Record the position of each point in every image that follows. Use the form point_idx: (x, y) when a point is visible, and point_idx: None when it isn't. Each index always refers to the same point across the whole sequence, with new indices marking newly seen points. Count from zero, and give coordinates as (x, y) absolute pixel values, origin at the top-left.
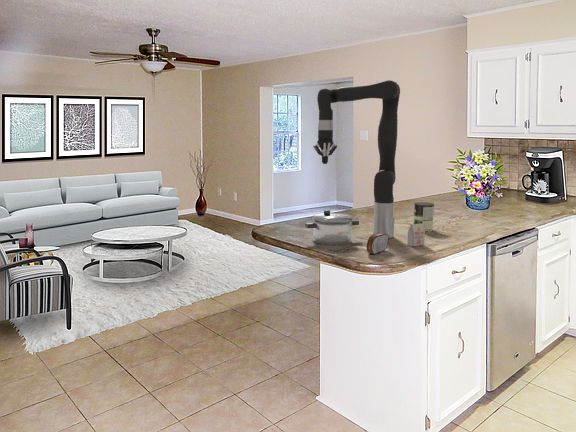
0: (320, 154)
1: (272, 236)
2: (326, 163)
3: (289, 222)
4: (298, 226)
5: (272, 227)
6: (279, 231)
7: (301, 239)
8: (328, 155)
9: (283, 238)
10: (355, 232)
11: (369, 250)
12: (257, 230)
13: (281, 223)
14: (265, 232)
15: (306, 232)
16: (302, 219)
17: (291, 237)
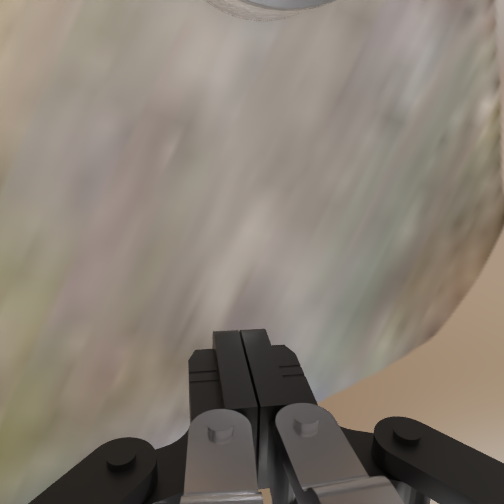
0: (425, 426)
1: (481, 128)
2: (221, 332)
3: None
4: (263, 311)
5: (384, 320)
6: (399, 227)
7: (395, 4)
8: (191, 428)
9: (460, 64)
10: (28, 66)
11: None
12: (473, 276)
13: None
14: (464, 225)
15: (292, 162)
16: None
17: (415, 72)
